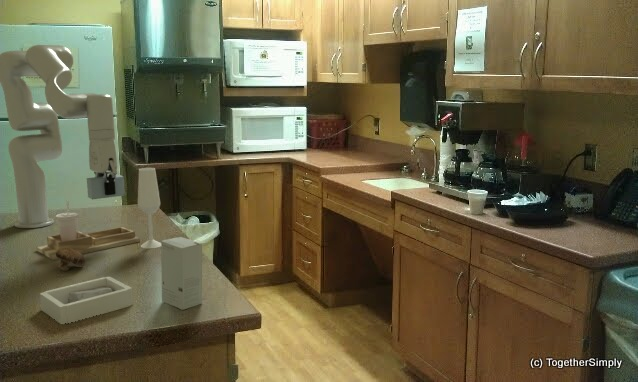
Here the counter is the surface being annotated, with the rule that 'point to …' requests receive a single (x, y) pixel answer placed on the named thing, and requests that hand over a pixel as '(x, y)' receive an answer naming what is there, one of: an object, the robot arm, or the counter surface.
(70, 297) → the soap bar
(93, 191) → the pale grey block
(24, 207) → the robot arm
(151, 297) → the counter surface
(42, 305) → the soap dish rim
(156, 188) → the champagne flute
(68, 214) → the smoothie
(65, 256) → the mushroom
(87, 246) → the tray
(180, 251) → the skincare box
